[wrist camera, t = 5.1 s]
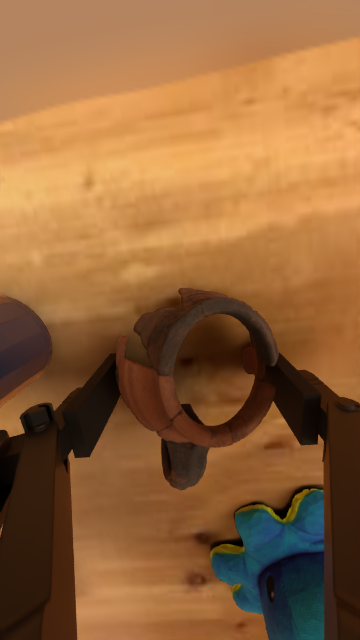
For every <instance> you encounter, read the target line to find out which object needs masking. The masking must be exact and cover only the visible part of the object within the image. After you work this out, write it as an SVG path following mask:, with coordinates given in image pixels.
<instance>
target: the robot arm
mask: <svg viewBox="0 0 360 640" xmlns="http://www.w3.org/2000/svg"><path fill="white" fill-rule="evenodd" d="M116 368H117V366H116V353H113V354H110V355H109V356H108V357H107V359H106V360H105V361H104V362H103V363H102V364H101V366H100V367H99V368H98V369H97V370H96V372H95V373H94V374H93V375H92V376H91V378H90V379H89V380H88V381H87V382H86V383H85V385H84V386H83V387H80V388H77V389H76V390H74V391H73V392H71V393H70V394H69V396H68V397H67V398H66V399H65V400H64V401H63V402H62V404H60V406H59V407H58V408H57V409H56V410H55V411H54V409H53V406H52V404H51V403H41V404H38V405H35V406H33V407H31V408H29V409H28V410H26V411H25V412H24V413H22V415H21V416H20V420H21V423H22V425H23V428H24V431H25V433H24V434H20V435H17V436H13V437H10V438H9V435H8V433H7V431H6V430H0V529H1V527H2V525H3V528H2V532H1V536H0V640H77V623H76V600H75V576H74V553H73V529H72V506H71V482H70V462H69V459H68V455H69V453H70V452H71V450H72V449H73V452H74V456H75V458H82V457H90V455H91V453H92V451H93V449H94V447H95V445H96V444H97V442H98V440H99V438H100V436H101V434H102V432H103V430H104V428H105V426H106V424H107V422H108V420H109V418H110V416H111V414H112V412H113V410H114V408H115V406H116V404H117V402H118V400H119V398H120V396H121V393H120V390H119V387H118V384H117V380H116V374H115V372H116ZM264 381H265V382H266V383H270V384H271V385H273V386H275V387H276V392H275V396H274V399H273V401H274V403H275V404H276V406H277V408H278V409H279V411H280V412H281V414H282V416H283V417H284V419H285V421H286V422H287V424H288V425H289V427H290V429H291V430H292V432H293V433H294V435H295V437H296V438H297V440H298V441H299V443H300V445H315V444H318V434H319V435H320V437H321V438H322V439H323V440H324V449H323V461H322V462H324V640H360V404H359V403H358V402H356V401H354V400H352V399H348V398H345V397H339V396H338V395H337V394H335V393H334V392H333V391H332V390H331V389H330V388H329V387H328V386H326V385H325V384H324V383H323V382H322V381H321V380H319V378H317V377H316V376H315V375H314V374H313V373H310V372H308V371H306V370H297V369H296V368H295V367H294V366H292V365H291V364H290V363H289V362H288V361H287V360H286V359H285V358H284V357H283V356H282V355H281V354H280V353H279V357H278V359H277V362H276V364H275V365H274V366H269V365H267V364H265V377H264ZM3 523H4V524H3Z"/></svg>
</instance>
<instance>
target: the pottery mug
mask: <svg viewBox="0 0 360 640" xmlns="http://www.w3.org/2000/svg"><path fill="white" fill-rule="evenodd" d="M178 292H179V294H180V295H181V303H182V309H175V308H171V307H168V308H161V309H158V310H156V311H155V312H153V313H144V314H143V315H141V317H140V318H139V319H138V321H137V322H136V323H135V325H134V328H133V330H134V332H136V333H137V334H138V335H140V337H141V342H142V344H143V346H144V348H145V349H146V351H147V354H148V357H149V359H150V362H151V364H152V366H146V365H142V364H138V363H136V362H134V361H133V360H131V359H129V358H126V346H127V340H128V338H127V337H126V336H121V337H120V339H119V342H118V345H117V351H116V366H117V368H116V372H115V374H116V380H117V384H118V387H119V390H120V393H121V396H122V398H123V400H124V402H125V404H126V405H127V407H128V408H129V409H130V410H131V411H132V413H133V414H134V415H135V416H136V418H137V419H138V421H139V422H140V423H142V424H143V425H144V426H145V427H146V428H147V429H149V430H151V431H156V432H157V434H158V435H159V436H160V437H162V439H161V454H162V467H163V473H164V477H165V479H166V480H167V481H168V482H169V484H170V485H171V486H172V487H174V488H176V489H178V490H185V489H186V488H188V487H192V486H195V485H196V484H197V483H198V482H199V480H200V479H201V478H202V476H203V474H204V471H205V468H206V462H207V453H208V451H209V449H210V447H214V448H216V447H225V446H229V445H232V444H233V443H236V442H238V441H240V440H241V439H243V438H245V437H246V436H247V435H249V434H250V433H251V432H252V431H253V430H254V429H255V428H256V427H257V426H258V425H259V424H260V423H261V421H262V419H263V418H264V417H265V416H266V414H267V412H268V410H269V408H270V406H271V404H272V402H273V399H274V396H275V392H276V387H275V386H273V385H271V384H270V383H266V382H265V381H264V377H265V364H267V365H269V366H274V365H275V364H276V362H277V359H278V357H279V352H278V348H277V344H276V341H275V338H274V336H273V334H272V331H271V329H270V327H269V325H268V324H267V322H266V321H265V319H264V318H263V317H262V316H261V315H260V314H259V313H258V312H257V311H255V310H253V309H252V307H250V306H249V305H247V304H246V303H245V302H242V301H238V300H236V299H233V298H228V297H227V296H225V295H223V294H220V293H216V292H209V291H202V290H195V289H191V288H179V290H178ZM213 314H227V315H230V316H233V317H235V318H236V319H238V320H239V321H240V322H241V323H242V324H243V325H245V327H246V328H247V330H248V331H249V334H250V339H251V346H250V347H248V348H246V349H244V350H243V351H242V361H243V367H244V370H245V372H246V373H248V374H254V375H255V379H254V384H253V387H252V390H251V392H250V395H249V397H248V399H247V400H246V402H245V404H244V405H243V407H242V408H241V409H240V410H239V412H238V413H237V414H236V415H235V416H234V417H233V418H231V419H230V420H229V421H227V422H225V423H223V424H221V425H216V426H205V425H204V424H203V423H202V421H201V420H200V419H199V418H198V416H197V415H196V414H195V413H194V411H193V409H192V407H191V405H190V404H180V402H179V400H178V397H177V394H176V390H175V381H174V373H173V369H174V366H175V360H176V356H177V353H178V350H179V347H180V345H181V343H182V341H183V340H184V338H185V337H186V335H187V334H188V332H189V331H190V330H191V329H192V328H193V327H194V326H195V325H196V324H197V323H198V322H199V321H201V319H203V318H205V317H207V316H210V315H213Z"/></svg>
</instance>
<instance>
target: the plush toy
mask: <svg viewBox="0 0 360 640" xmlns="http://www.w3.org/2000/svg"><path fill="white" fill-rule="evenodd" d="M292 503H293V504H292V505H291V506H292V507H291V508H289V511H288V513H287V517H286V518H284V519H283V520H282V519H281V518H280V517H279V516H277V515H275V513H274V512H273V510H272V509H271V508H268V507H266V506H265V505H259V504H257V505H254V506H253V505H249V506H247V507H244V508H241V509H239V510H238V512H237V511H236V513H235V525H236V528H237V531H238V533H239V535H240V536H241V538H242V541H243V545H244V546H243V547H239V546H234V545H231V544H222V545H220V546H218V547H216V548H213V550H212V551H211V553H210V559H211V565H212V568H213V571H214V573H215V575H216V577H217V578H218V579H219V580H221V581H224V582H226V583H227V584H229V585H233V588H232V596H233V599H234V601H235V602H236V604H237V606H238V607H239V608H241V609H242V610H244V611H246V612H252V613H258V614H263V615H264V620H265V624H266V630H267V634H268V638H269V640H324V490H318V489H314V488H313V489H311V490H308V489H305V490H303V492H302V493H298V495H295V498H294V499H293V501H292Z"/></svg>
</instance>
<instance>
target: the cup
mask: <svg viewBox="0 0 360 640" xmlns="http://www.w3.org/2000/svg"><path fill="white" fill-rule="evenodd" d="M51 354H52V345H51V340H50V336H49V333H48V331H47V329H46V327H45V325H44V324H43V322H42V320H41V319H40V318H39V317H38V316H37V315H36V314H35V313H34V312H33V311H32V310H31V309H30V308H29V307H27V306H26V305H24V304H23V303H21V302H19V301H17V300H15V299H12V298H9V297H5V296H0V407H2V406H3V405H4V404H5V403H7V402H8V401H9V400H11V399H12V398H13V397H14V396H16V395H17V394H18V393H20V392H21V391H22V390H24V389H25V388H26V387H27V386H29V385H30V384H31V383H33V382H34V381H35V380H36V379H37V378H38V377H39V376H40V375H41V374H42V373H43V372H44V371H45V370H46V368H47V367H48V365H49V362H50V359H51Z"/></svg>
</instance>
